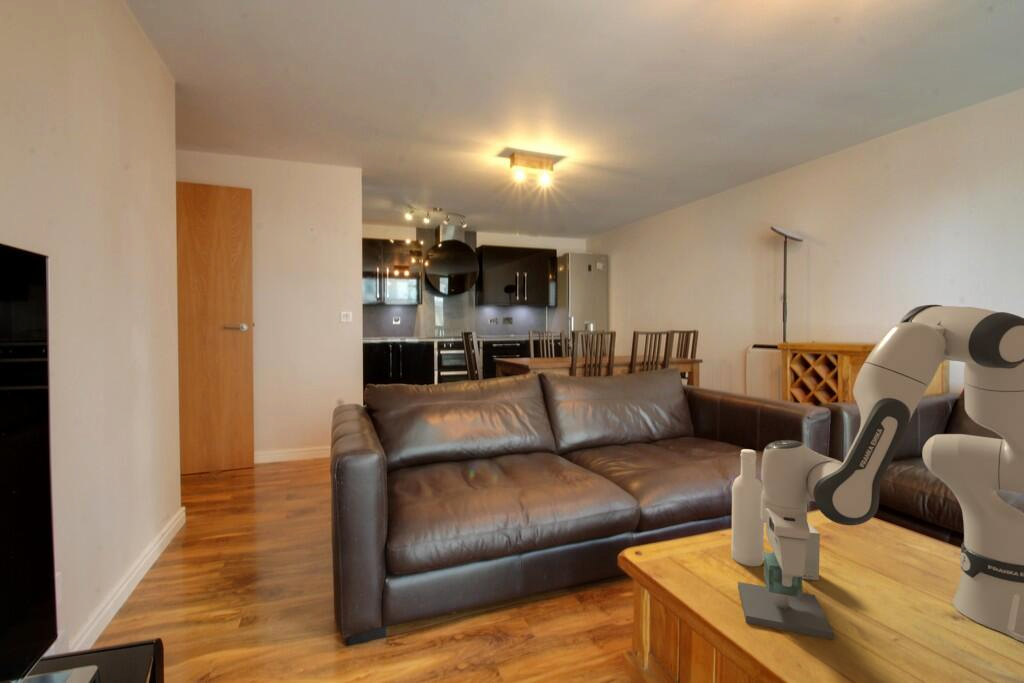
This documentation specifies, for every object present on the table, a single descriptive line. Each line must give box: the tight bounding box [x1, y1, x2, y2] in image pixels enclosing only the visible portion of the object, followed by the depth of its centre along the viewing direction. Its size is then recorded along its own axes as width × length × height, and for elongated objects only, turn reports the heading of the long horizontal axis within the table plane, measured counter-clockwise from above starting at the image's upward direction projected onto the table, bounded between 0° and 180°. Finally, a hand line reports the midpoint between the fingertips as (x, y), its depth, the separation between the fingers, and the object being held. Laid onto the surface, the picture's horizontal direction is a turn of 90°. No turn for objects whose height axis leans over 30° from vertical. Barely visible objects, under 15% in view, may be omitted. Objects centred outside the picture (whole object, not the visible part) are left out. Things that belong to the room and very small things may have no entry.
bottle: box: [730, 448, 765, 567], centre depth 125 cm, size 8×8×30 cm
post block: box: [737, 581, 835, 641], centre depth 102 cm, size 16×14×9 cm
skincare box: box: [802, 523, 821, 581], centre depth 117 cm, size 6×4×12 cm
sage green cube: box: [763, 551, 803, 598], centre depth 102 cm, size 6×6×6 cm
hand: (782, 575), depth 101 cm, fingers closed on sage green cube, 6 cm apart
